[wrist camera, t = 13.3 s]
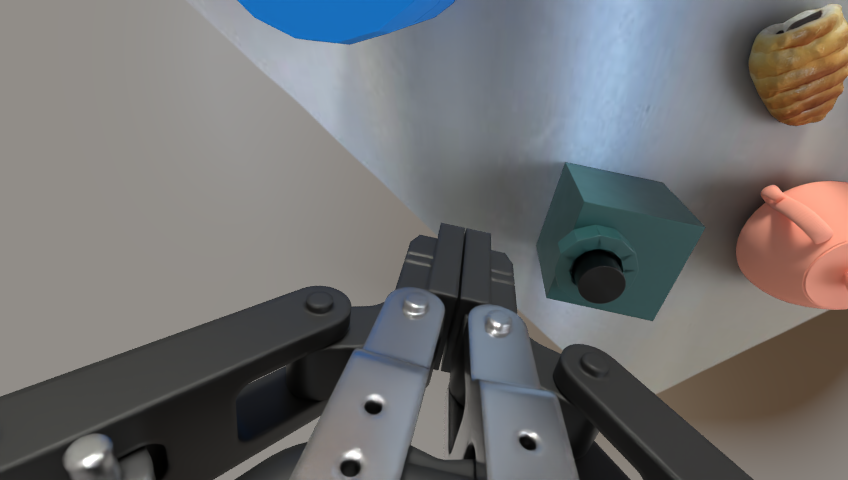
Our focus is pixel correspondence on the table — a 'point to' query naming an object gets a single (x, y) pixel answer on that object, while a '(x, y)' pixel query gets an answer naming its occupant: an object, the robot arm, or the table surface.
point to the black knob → (599, 277)
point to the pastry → (801, 65)
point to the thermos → (343, 17)
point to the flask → (616, 237)
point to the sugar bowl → (799, 245)
